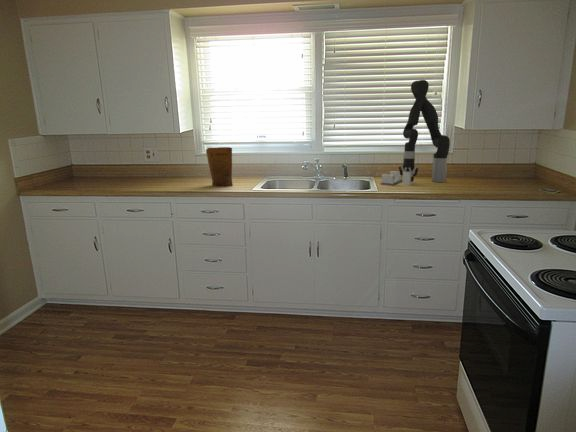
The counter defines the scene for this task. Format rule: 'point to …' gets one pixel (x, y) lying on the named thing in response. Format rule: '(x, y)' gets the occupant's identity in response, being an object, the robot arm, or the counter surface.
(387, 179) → the rail
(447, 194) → the counter surface
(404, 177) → the block
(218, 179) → the pancake mix bag
